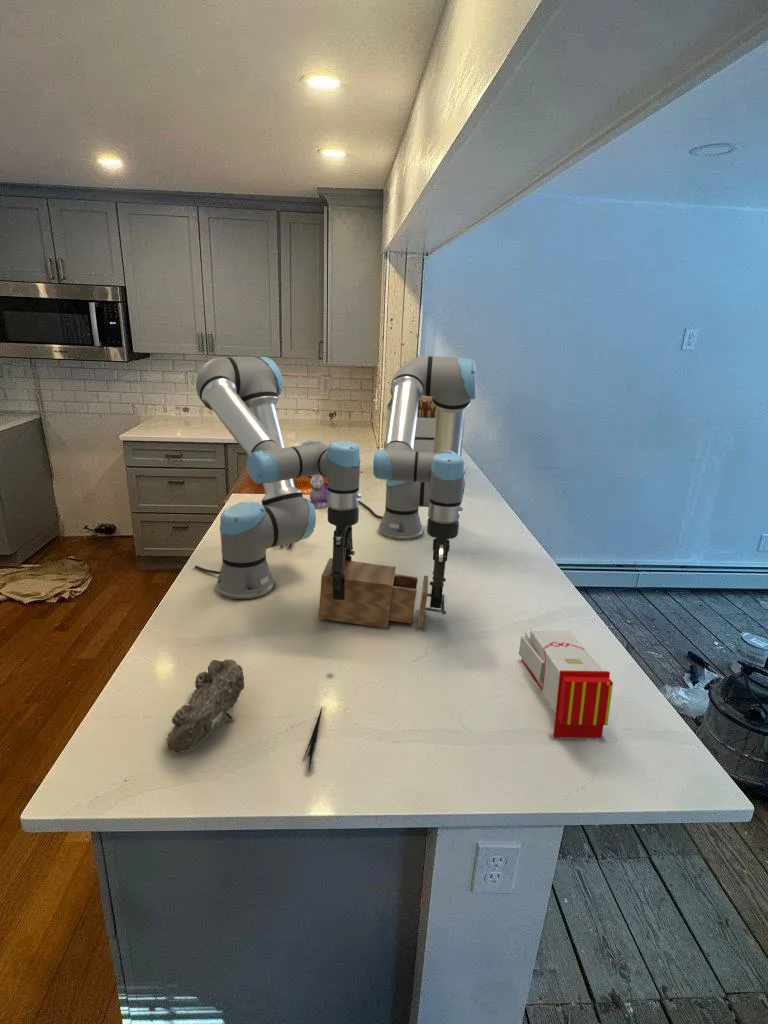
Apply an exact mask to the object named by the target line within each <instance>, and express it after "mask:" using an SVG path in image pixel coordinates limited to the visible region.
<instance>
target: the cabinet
mask: <svg viewBox="0 0 768 1024" xmlns="http://www.w3.org/2000/svg"><path fill="white" fill-rule="evenodd" d="M332 560H333V557H329V558H328V560H327V562H326V565H325V567H324V570H323V572H322V574H321V579H320V592H319V593H320V594H319V605H318V619H319V620H326V621H334V622H341V623H348V624H354V625H361V626H368V627H375V628H376V627H377V628H382V629H388V627H389V622H390V620H389V613H390V605H391V597H392V588H393V582H394V577H395V574H396V570H397V567H396V566H393V565H391V566H390V565H386V564H385V565H383V564H376V563H371V562H370V563H369V562H363V561H361V562H360V561H355V560H352V561H348V560H345V565H344V575H345V592H344V600H335V599H333V577H331V576H330V573H331V574H332Z"/></svg>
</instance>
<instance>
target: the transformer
mask: <svg viewBox="0 0 768 1024" xmlns="http://www.w3.org/2000/svg"><path fill="white" fill-rule="evenodd" d="M392 398H393V397H392V396H391V398H390V400H389V402H388V404H387V405H386V413H385V414H386V415H385V423H386V428H385V436H386V435H387V428H388V422H389V416H390V410H391V404H392ZM436 409H437V407H436V406H435V405H434V404H433V402H432V397H430V396H422V398H421V399H420V400H419V404H418V413H417V422H416V431H415V440H414V449H413V452H426V453H433V450H434V436H435V423H436ZM464 429H465V418H464V419H463V428H462V437H461V446H460V456H462V453H463V442H464V441H463V440H462V439H463V438H464V431H465V430H464ZM385 441H386V437H385V438H384V442H383V448H384V447H385Z"/></svg>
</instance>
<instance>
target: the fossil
mask: <svg viewBox="0 0 768 1024" xmlns="http://www.w3.org/2000/svg"><path fill="white" fill-rule="evenodd" d="M243 670H244V669H243V667H242V665H240V664H237V662H236V661H235V660H234V659H232V658H231V659H227V658H226V659H224V660H223V661H222V660H217V659H212V660H211V661H210V663H209V665H208V666H207V671H201V672H199V673H198V674H197V675H196V676H195V680H194V684H195V685H194V687H195V689H194V690H193V693H192V694H191V697H190V698H189V700H188V704H184V705H182V706H181V707H180V709H177V710H176V711H175V713H174V715H173V716H172V718H171V723H172V724H173V727H172V730H171V731H170V732H168V734H167V738H166V741H167V742H166V745H167V749H168V750H169V751H173V752H174V753H176V754H178V753H182V752H188V751H189V752H192V751H193V750H195V748H196V747H197V746H199V744H200V743H201V742H203V741H204V740H205V739H206V738H207V737H208V736H209V735H210V734H211V733H212V732H214V730H215V729H217V727H218V726H219V724H220V722H221V721H222V720H223V719H224V718H225V716H226V717H227V719H229V720H233V717H232V715H230V714H229V710H230V709H231V708H234V706H235V704H236V703H237V702H238V699H239V697H240V695H241V693H242V691H243V690H245V689H244V688H245V675H244V671H243Z"/></svg>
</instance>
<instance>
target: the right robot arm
mask: <svg viewBox="0 0 768 1024" xmlns="http://www.w3.org/2000/svg"><path fill="white" fill-rule="evenodd" d="M476 379H477V378H476V362H475V361H474V359H472V358H465V357H462V356H458V357H456V356H455V357H453V356H433V355H432V356H431V355H430V356H429V355H420V356H417V357H414V358H412V359H410V360H408V361H406V362H405V363H404V364H402V365H401V367H399V369H398V370H397V371H396V373H394V376H393V377H392V380H391V383H390V389H389V391H390V395H391V398H392V397H393V398H392V404H391V410H390V416H389V422H388V428H387V435H386V434H385V438H386V441H385V440H384V442H385V447H384V446H383V448H382V449H380V448H379V449H376V450H375V451H374V455H373V464H372V471H373V476H374V478H376V479H377V480H383V481H384V480H385V481H386V482H385V487H386V488H385V489H386V490H385V504H384V505H385V507H384V508H385V509H384V513H383V515H382V516H381V515H378V514H376V513H375V511H374V510H373V509H372V508H370V507H369V506H368V505H366V504H365V503H363V502H362V501H361V500H359V505H361V506H362V507H364V508H365V509H366V510H367V511H369V512H370V513H371V515H372V516H374V517H375V518H377V519H381V522H379V526H378V533H379V534H380V535H381V536H382V537H385V538H387V539H389V540H395V541H410V540H415V539H418V538H420V537H421V536H422V535H423V525H422V524H421V518H420V515H419V508H420V507H421V508H422V507H424V508H428V509H427V517H428V518H427V522H426V524H427V525H426V533H427V535H428V536H430V537H431V538H433V539H432V551H433V552H432V560H433V571H432V581H429V586H431V590H430V591H431V592H430V594H431V597H430V600H429V601H430V603H429V608H432V609H441V601H442V595H443V590H444V583H445V582H446V581H447V579H446V577H445V571H446V563H447V561H448V555H449V551H450V540H452V539H454V538H457V536H459V529H460V521H459V520H460V516H461V512H463V511H464V507H463V506H462V502H463V499H464V495H465V489H466V477H465V474H466V459H465V458H464V457H463V456H462V455H461V456H460V446H461V440H462V438H461V437H462V428H463V419H464V420H465V418H464V417H465V410H466V408H468V407H469V406H470V404H471V401H472V400H475V399H477V385H476V384H477V383H476ZM422 397H432V402H433V404H434V405H435V406H436V407H437V409H436V423H435V436H434V450H433V453H426V452H413V449H414V440H415V431H416V422H417V413H418V404H419V400H420V399H421V398H422ZM306 477H307V478H309V479H310V480H311V479H312V475H311V476H306ZM324 485H325V486H327V487H328V482H325V481H324Z"/></svg>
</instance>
